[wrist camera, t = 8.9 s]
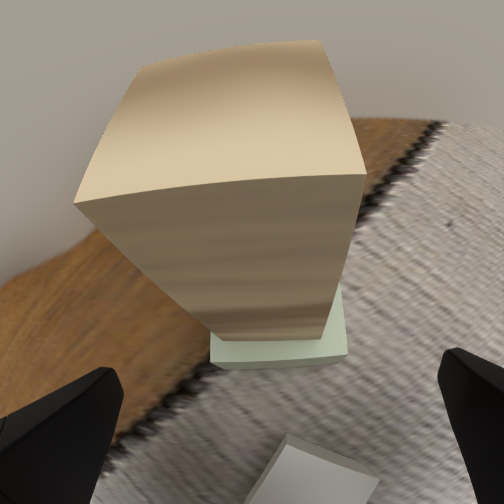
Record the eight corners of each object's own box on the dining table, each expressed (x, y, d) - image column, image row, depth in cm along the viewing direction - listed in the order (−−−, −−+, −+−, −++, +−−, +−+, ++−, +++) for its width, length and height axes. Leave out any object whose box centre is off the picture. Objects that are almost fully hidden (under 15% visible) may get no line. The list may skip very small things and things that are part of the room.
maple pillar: (320, 339, 15) (367, 173, 4) (222, 341, 15) (72, 203, 5) (315, 250, 17) (319, 40, 6) (227, 254, 18) (142, 66, 7)
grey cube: (318, 522, 13) (326, 556, 8) (247, 494, 14) (234, 523, 10) (358, 460, 14) (381, 479, 10) (286, 432, 16) (286, 444, 12)
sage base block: (336, 363, 18) (348, 354, 14) (225, 370, 18) (210, 362, 15) (325, 263, 21) (332, 234, 18) (226, 270, 22) (213, 242, 18)
